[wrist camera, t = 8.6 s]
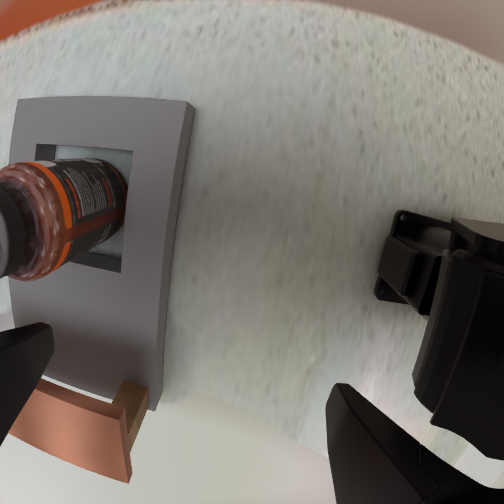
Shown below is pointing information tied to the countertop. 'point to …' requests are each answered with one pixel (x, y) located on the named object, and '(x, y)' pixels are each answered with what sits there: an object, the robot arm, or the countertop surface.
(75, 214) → the supplement bottle
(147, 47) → the countertop surface
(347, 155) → the countertop surface
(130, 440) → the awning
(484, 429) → the robot arm
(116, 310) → the socket plate
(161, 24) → the countertop surface
